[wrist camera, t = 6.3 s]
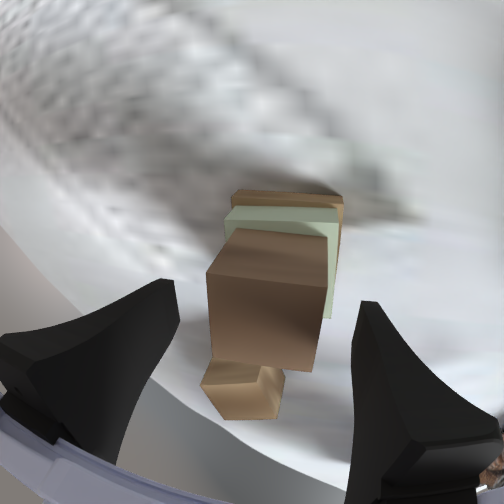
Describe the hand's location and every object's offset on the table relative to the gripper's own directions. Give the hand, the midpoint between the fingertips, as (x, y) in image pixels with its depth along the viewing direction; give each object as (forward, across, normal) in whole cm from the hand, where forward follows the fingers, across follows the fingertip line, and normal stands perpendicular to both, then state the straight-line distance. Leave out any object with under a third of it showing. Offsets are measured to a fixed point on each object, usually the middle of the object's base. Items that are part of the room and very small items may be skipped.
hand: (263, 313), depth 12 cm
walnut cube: (+3, 0, 0) cm, 3 cm away
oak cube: (+7, +2, +10) cm, 12 cm away
